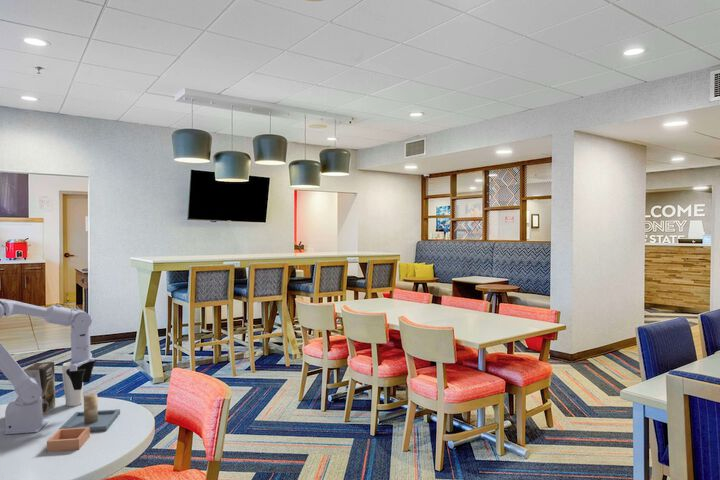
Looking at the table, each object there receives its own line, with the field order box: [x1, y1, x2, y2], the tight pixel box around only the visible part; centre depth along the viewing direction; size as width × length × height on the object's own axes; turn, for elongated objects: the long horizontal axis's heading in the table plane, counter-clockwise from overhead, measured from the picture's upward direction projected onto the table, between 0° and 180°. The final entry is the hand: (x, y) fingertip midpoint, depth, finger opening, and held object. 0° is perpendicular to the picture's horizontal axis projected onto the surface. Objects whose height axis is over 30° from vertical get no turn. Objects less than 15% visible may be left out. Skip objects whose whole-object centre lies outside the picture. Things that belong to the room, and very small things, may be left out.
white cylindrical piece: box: [61, 360, 84, 407], centre depth 181 cm, size 7×7×15 cm
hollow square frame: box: [46, 427, 91, 453], centre depth 150 cm, size 9×9×3 cm
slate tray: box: [58, 408, 121, 433], centre depth 165 cm, size 14×14×2 cm
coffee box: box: [23, 361, 56, 416], centre depth 175 cm, size 9×6×16 cm
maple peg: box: [83, 393, 99, 424], centre depth 165 cm, size 4×4×8 cm
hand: (82, 385), depth 171 cm, fingers open, 7 cm apart
